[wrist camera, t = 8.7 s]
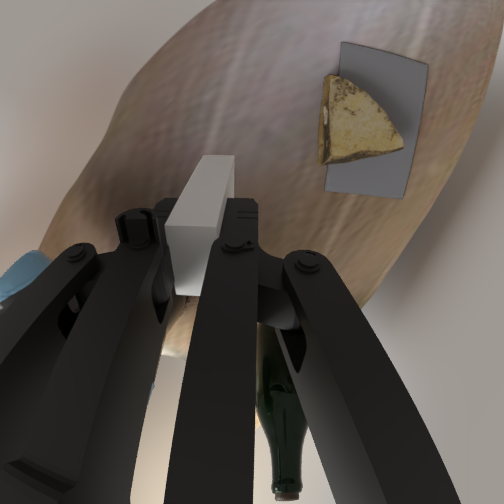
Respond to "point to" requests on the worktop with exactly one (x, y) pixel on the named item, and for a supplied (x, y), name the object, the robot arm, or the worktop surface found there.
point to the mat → (398, 110)
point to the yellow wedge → (353, 125)
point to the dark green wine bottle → (279, 415)
